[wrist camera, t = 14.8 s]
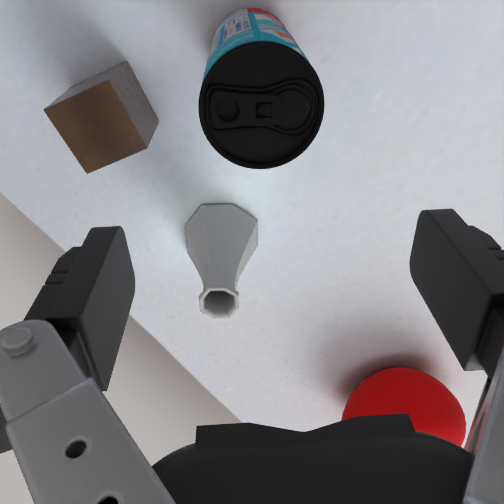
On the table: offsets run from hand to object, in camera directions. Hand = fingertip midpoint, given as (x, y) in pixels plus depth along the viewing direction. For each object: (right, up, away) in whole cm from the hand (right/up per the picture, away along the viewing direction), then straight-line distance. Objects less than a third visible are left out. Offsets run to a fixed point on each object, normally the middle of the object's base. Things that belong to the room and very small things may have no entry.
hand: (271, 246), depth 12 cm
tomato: (+17, -17, +44) cm, 50 cm away
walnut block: (-11, +12, +23) cm, 28 cm away
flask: (-3, +2, +30) cm, 30 cm away
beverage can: (-1, +15, +21) cm, 26 cm away
